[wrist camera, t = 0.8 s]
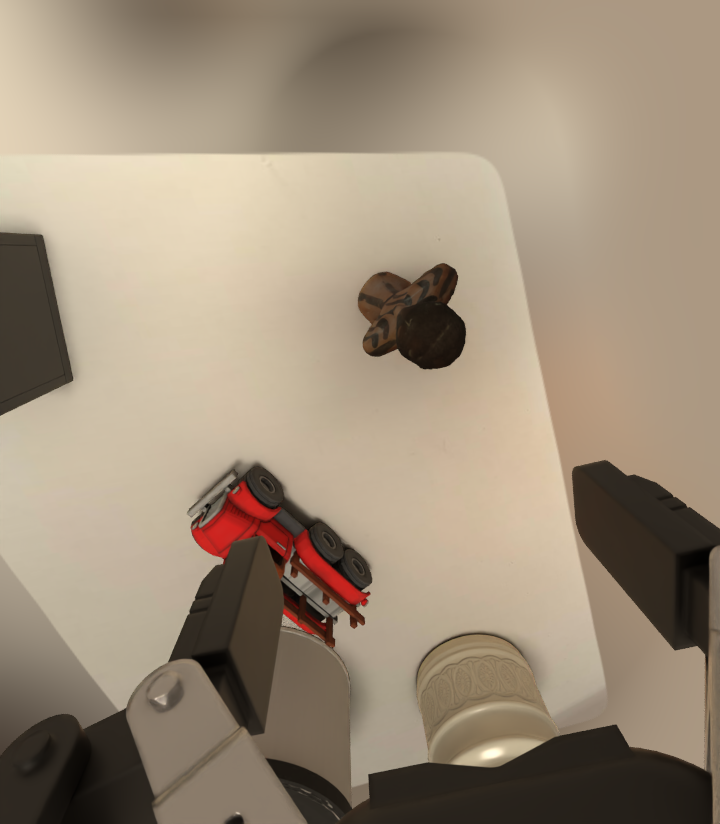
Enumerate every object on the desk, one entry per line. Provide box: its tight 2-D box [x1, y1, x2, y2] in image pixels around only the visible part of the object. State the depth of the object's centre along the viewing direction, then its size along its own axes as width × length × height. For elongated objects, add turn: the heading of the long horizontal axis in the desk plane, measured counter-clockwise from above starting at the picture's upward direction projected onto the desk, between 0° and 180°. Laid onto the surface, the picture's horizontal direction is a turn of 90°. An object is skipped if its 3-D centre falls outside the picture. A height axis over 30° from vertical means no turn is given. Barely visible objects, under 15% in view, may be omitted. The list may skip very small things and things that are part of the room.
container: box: [251, 627, 352, 824], centre depth 44 cm, size 19×19×15 cm
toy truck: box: [187, 467, 372, 648], centre depth 41 cm, size 8×18×8 cm, turn 42°
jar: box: [417, 635, 560, 767], centre depth 44 cm, size 13×13×18 cm
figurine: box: [358, 263, 466, 369], centre depth 29 cm, size 7×5×18 cm
